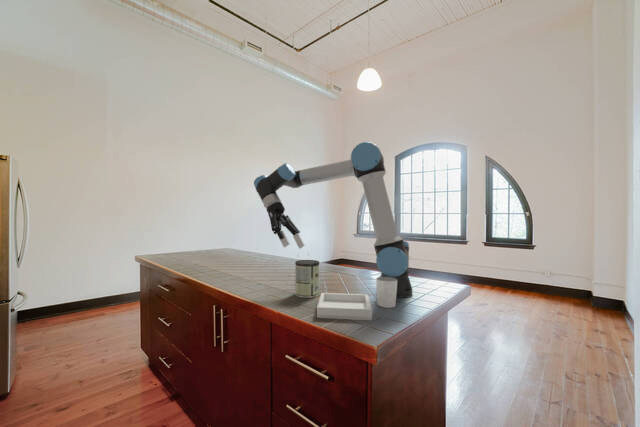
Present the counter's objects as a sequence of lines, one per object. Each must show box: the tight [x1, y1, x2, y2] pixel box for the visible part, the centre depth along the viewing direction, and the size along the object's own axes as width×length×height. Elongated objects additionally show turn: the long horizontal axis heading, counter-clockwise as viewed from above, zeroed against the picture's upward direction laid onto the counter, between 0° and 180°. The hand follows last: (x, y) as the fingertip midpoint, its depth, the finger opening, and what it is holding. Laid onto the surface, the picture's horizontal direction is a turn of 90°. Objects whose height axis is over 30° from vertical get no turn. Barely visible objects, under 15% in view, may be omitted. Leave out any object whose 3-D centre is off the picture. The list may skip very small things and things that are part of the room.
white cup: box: [375, 276, 397, 309], centre depth 110 cm, size 8×8×10 cm
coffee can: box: [294, 259, 320, 299], centre depth 123 cm, size 10×10×14 cm
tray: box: [316, 292, 373, 321], centre depth 104 cm, size 18×18×4 cm
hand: (294, 246), depth 122 cm, fingers open, 13 cm apart
